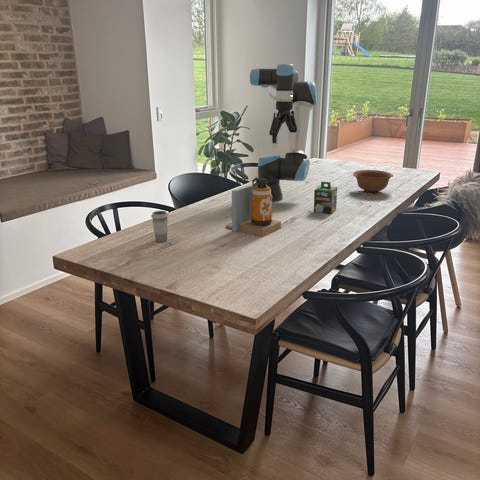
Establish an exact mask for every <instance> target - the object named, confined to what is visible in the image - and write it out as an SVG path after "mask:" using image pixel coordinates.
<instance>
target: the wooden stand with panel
mask: <svg viewBox="0 0 480 480" xmlns="http://www.w3.org/2000/svg"><path fill="white" fill-rule="evenodd" d="M255 183H256V182H254V184H255ZM252 185H253V184H252V183H251V184H248V185H245V186H242V187H239V188H234V189H233V190H231V222H230V223H228V224H226V225H225V229H229V230H231V231H232V232H234V233H236V232H238V231H239V232H243V233H248V234H251V235H256V236H260V237H265V236H268V235H269V234H272V233H273V232H274V233H275V232H276V231H277V230H280V229H281V228H282V221H280V220H275V219H272V222H271V223H270V224H267V225H256V224H254V223H252V222H251V219H252V218H251V194H252V193H253V187H252ZM256 186H257V185H256ZM266 186H267V185H266Z"/></svg>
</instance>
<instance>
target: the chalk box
mask: <svg viewBox="0 0 480 480" xmlns="http://www.w3.org/2000/svg"><path fill="white" fill-rule="evenodd" d="M337 194H338V187H337V186H332V185H331V182H330V181H329V182H327V181H321V183H320V185H319V186H317V187H316V188H315V189H314V195H313V198H314V199H313V212H314V213H321V214H327V215H328V214H329V215H331V214H333V213H334V212H335V211H336V210H337V205H338V204H337V200H338V195H337Z"/></svg>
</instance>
